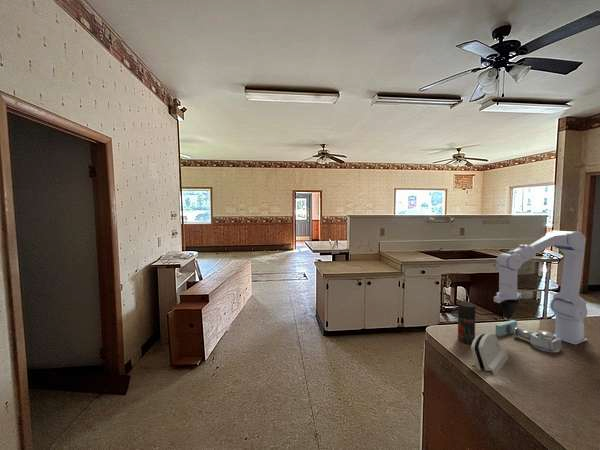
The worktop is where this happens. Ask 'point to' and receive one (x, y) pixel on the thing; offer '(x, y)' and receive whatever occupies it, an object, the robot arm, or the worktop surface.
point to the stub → (549, 337)
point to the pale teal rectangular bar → (505, 327)
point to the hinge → (488, 353)
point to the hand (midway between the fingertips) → (507, 317)
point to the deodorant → (466, 322)
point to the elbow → (539, 339)
